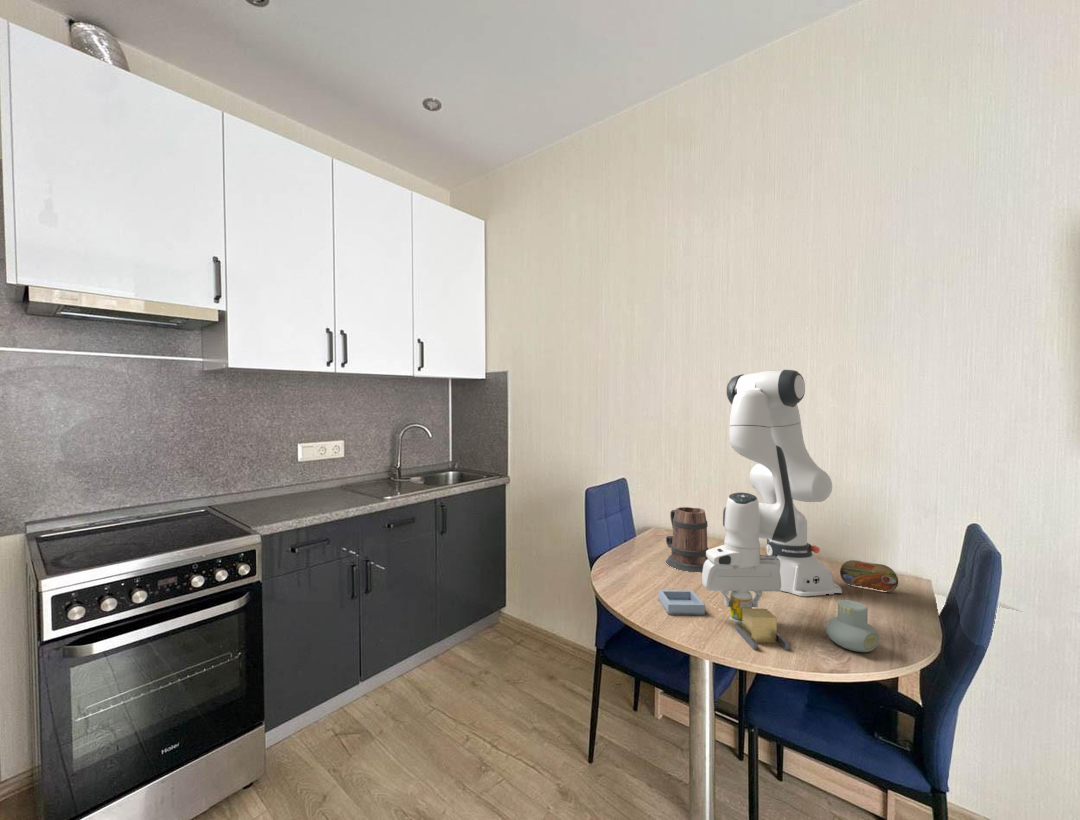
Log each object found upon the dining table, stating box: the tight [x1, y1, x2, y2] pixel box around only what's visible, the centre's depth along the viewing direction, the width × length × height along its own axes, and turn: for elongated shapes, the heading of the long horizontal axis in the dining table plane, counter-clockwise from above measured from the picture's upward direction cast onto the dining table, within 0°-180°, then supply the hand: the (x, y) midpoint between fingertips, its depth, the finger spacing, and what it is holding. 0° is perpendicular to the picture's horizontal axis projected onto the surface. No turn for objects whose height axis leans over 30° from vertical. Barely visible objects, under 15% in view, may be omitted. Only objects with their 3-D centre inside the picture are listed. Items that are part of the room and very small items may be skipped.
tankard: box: [665, 506, 709, 573], centre depth 170 cm, size 24×17×20 cm
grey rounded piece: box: [825, 599, 880, 653], centre depth 110 cm, size 11×8×10 cm
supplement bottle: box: [729, 587, 753, 624], centre depth 123 cm, size 5×5×10 cm
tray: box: [657, 589, 706, 616], centre depth 130 cm, size 10×10×3 cm
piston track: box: [735, 623, 790, 652], centre depth 116 cm, size 10×18×2 cm, turn 0°
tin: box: [839, 559, 899, 593], centre depth 146 cm, size 15×3×8 cm, turn 56°
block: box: [741, 608, 778, 644], centre depth 113 cm, size 6×5×6 cm
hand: (740, 606), depth 123 cm, fingers closed on supplement bottle, 5 cm apart
